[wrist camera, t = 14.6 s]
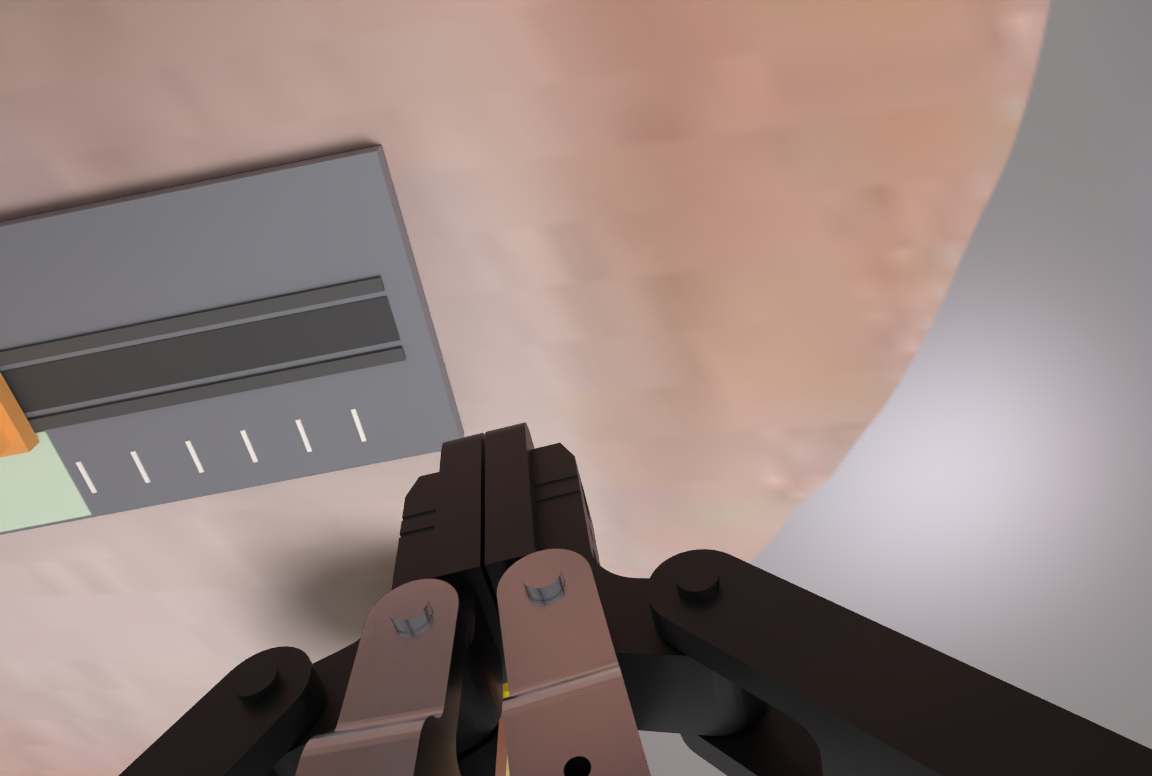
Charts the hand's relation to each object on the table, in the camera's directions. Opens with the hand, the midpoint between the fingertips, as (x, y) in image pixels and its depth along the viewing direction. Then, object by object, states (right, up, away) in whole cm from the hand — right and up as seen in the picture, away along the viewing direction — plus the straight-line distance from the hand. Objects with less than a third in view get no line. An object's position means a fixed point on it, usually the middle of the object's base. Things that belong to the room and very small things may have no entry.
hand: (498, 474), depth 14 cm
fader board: (-20, +3, +28) cm, 35 cm away
